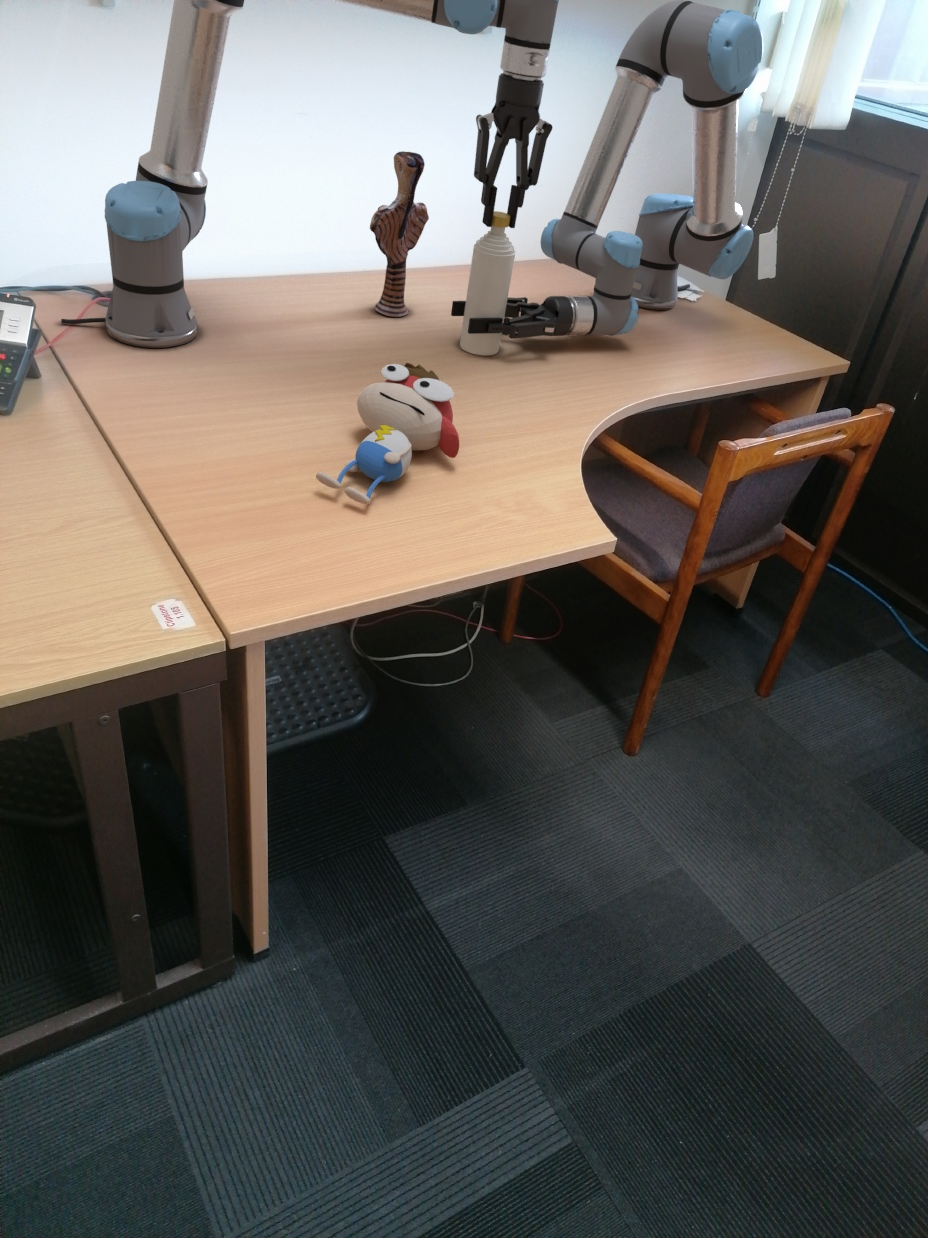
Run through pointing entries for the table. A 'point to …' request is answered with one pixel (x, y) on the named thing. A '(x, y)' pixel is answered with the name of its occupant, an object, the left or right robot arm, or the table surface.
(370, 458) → the toy
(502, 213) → the cap
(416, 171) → the figurine
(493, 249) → the bottle
